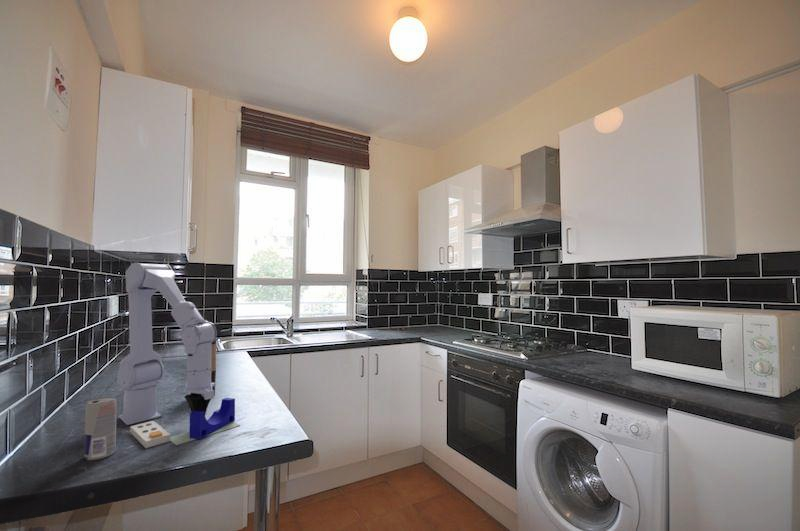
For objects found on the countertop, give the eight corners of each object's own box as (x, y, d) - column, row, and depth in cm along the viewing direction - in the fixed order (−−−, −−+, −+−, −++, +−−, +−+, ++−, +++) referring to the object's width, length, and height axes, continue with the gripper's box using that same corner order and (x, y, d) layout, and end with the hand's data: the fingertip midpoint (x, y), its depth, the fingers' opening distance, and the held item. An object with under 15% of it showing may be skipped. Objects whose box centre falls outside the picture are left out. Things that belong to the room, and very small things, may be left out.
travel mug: (220, 395, 122) (220, 336, 123) (197, 401, 116) (198, 339, 117) (207, 392, 126) (208, 334, 127) (185, 398, 120) (185, 337, 121)
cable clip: (221, 419, 99) (221, 397, 100) (234, 420, 98) (234, 398, 98) (184, 437, 88) (184, 412, 88) (199, 439, 87) (199, 413, 87)
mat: (167, 438, 88) (167, 437, 88) (230, 420, 99) (230, 419, 99) (176, 445, 84) (176, 444, 84) (239, 425, 95) (239, 424, 95)
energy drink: (96, 450, 82) (97, 396, 83) (121, 448, 83) (122, 395, 83) (77, 461, 77) (79, 404, 78) (104, 460, 77) (105, 403, 78)
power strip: (130, 432, 92) (130, 424, 92) (153, 426, 96) (153, 418, 96) (145, 448, 83) (145, 438, 83) (170, 440, 87) (170, 431, 87)
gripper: (226, 370, 93) (225, 423, 93) (204, 362, 103) (204, 411, 102) (196, 375, 88) (196, 432, 87) (176, 367, 98) (176, 418, 97)
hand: (198, 421), depth 94 cm, fingers closed
